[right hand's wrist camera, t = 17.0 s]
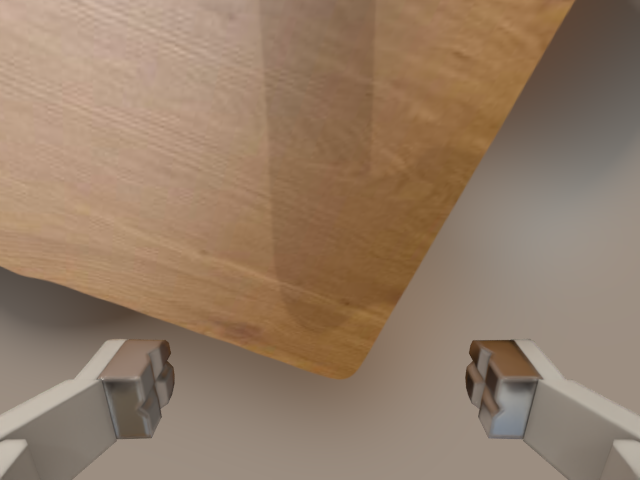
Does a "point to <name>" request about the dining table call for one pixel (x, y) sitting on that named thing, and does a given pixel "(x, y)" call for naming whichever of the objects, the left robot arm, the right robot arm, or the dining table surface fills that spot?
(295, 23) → the dining table surface
